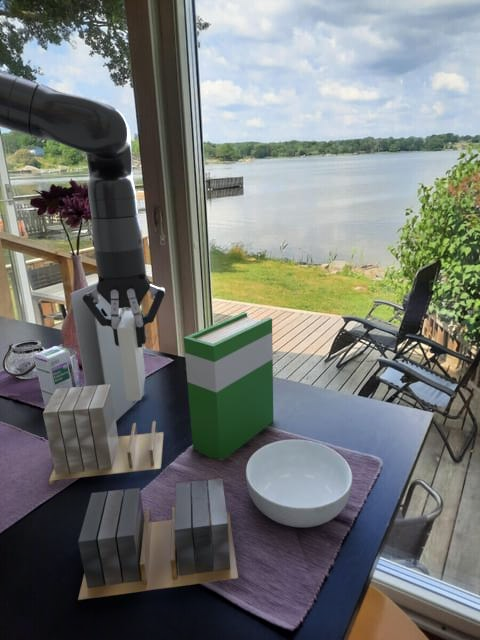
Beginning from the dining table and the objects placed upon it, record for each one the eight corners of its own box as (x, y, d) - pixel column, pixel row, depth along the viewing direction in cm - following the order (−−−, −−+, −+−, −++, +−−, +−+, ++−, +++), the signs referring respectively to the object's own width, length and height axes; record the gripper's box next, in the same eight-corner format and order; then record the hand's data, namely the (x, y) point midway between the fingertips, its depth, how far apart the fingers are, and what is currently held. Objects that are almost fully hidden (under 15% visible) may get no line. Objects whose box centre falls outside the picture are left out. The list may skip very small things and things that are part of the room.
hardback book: (247, 410, 102) (243, 312, 94) (273, 421, 97) (272, 318, 89) (193, 448, 89) (183, 337, 81) (220, 462, 84) (213, 346, 76)
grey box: (112, 424, 98) (92, 295, 88) (91, 421, 100) (69, 293, 90) (144, 394, 111) (131, 278, 101) (125, 391, 112) (110, 277, 102)
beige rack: (49, 485, 80) (35, 417, 75) (66, 445, 91) (54, 385, 86) (161, 472, 82) (153, 406, 77) (163, 436, 93) (157, 376, 89)
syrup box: (59, 415, 103) (48, 358, 98) (44, 408, 106) (32, 353, 101) (79, 404, 107) (69, 349, 102) (64, 398, 110) (54, 344, 106)
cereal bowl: (244, 544, 66) (243, 506, 63) (248, 471, 81) (247, 438, 79) (360, 546, 65) (362, 507, 62) (341, 471, 80) (342, 438, 78)
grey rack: (79, 605, 57) (67, 552, 55) (95, 533, 69) (87, 486, 66) (238, 583, 60) (236, 531, 57) (229, 517, 71) (227, 471, 68)
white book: (126, 401, 74) (116, 328, 69) (132, 377, 82) (124, 311, 78) (141, 400, 74) (132, 327, 70) (145, 376, 82) (138, 310, 78)
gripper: (164, 239, 74) (173, 335, 79) (79, 243, 72) (94, 341, 78) (162, 247, 67) (171, 352, 72) (67, 252, 65) (84, 358, 71)
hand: (131, 346), depth 75 cm, fingers closed on white book, 2 cm apart
